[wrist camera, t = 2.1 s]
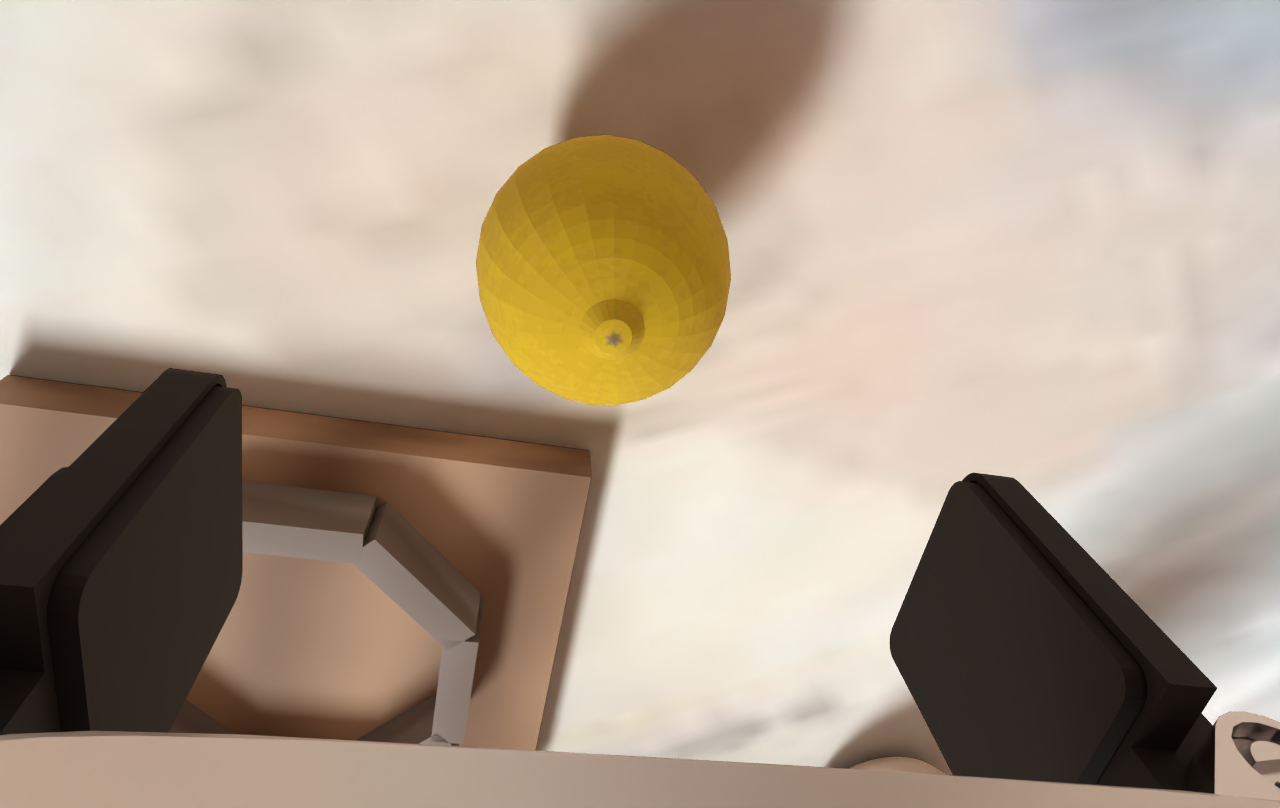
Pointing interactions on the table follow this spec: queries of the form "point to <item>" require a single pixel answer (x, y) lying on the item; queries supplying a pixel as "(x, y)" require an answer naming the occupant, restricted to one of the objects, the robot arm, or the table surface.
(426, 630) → the holder
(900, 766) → the plastic bottle
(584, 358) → the lemon
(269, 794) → the robot arm
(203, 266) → the table surface
